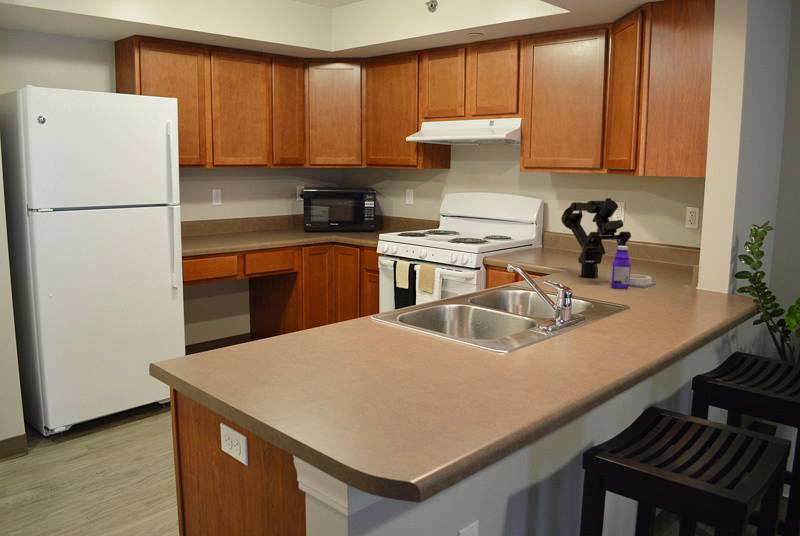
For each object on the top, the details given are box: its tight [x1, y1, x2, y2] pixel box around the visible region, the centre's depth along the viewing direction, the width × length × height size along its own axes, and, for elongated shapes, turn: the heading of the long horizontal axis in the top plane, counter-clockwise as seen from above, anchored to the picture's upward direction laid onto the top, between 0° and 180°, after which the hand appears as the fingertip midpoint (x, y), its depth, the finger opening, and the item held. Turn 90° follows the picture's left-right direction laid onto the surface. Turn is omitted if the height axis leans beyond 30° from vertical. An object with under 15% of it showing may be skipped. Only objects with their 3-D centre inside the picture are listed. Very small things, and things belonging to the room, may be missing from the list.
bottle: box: [610, 245, 631, 290], centre depth 277 cm, size 7×6×17 cm
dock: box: [628, 273, 657, 289], centre depth 287 cm, size 13×13×4 cm
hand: (614, 253), depth 285 cm, fingers open, 9 cm apart
